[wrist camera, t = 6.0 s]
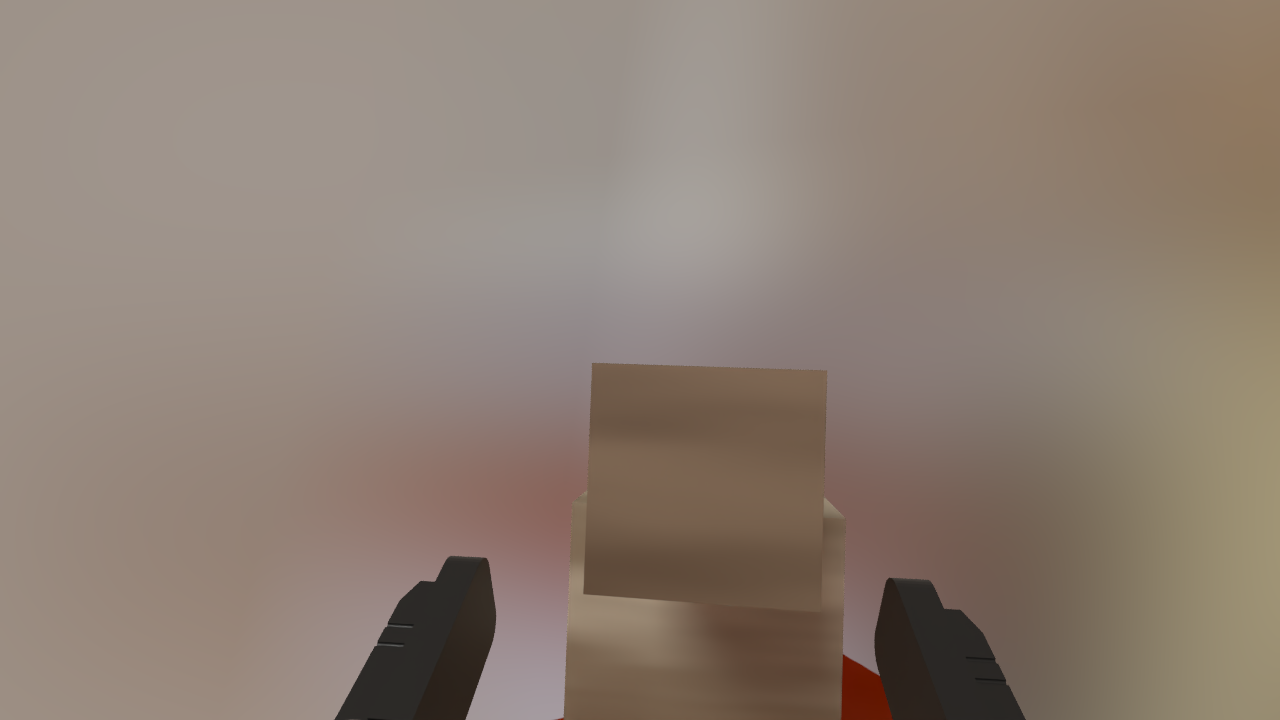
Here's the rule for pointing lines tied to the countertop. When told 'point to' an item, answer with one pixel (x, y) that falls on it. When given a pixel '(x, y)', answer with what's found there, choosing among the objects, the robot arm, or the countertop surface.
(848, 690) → the countertop surface
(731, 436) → the long wooden bar
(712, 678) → the tall stand
